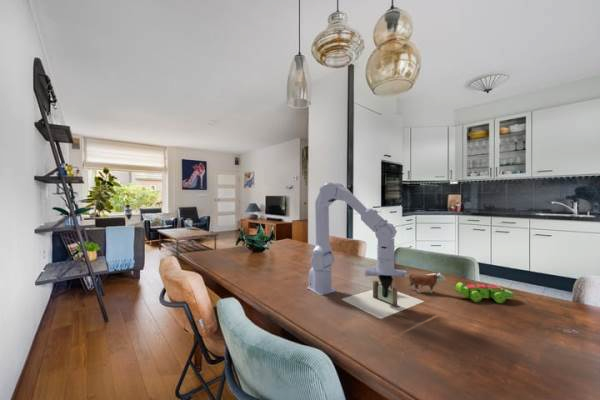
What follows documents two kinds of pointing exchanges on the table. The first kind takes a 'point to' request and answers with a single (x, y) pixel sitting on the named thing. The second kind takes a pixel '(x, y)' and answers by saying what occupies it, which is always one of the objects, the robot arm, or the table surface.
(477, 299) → the toy crocodile
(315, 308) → the table surface
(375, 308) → the board
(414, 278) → the bull figurine
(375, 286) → the fixed fence
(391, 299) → the hinged panel
